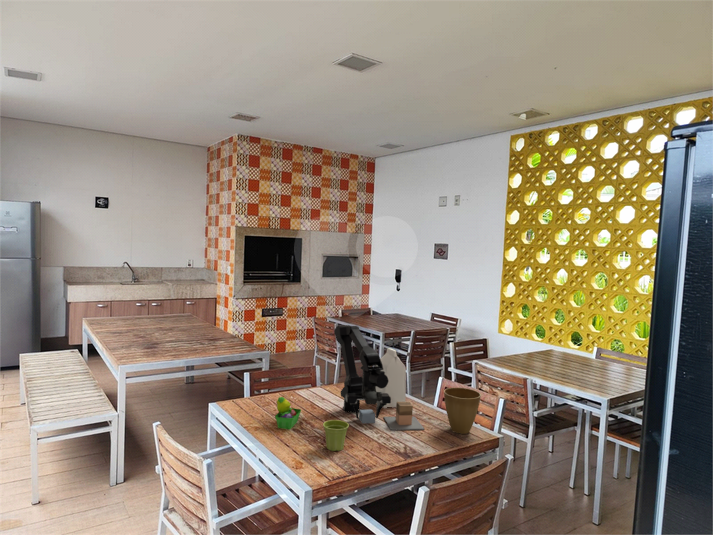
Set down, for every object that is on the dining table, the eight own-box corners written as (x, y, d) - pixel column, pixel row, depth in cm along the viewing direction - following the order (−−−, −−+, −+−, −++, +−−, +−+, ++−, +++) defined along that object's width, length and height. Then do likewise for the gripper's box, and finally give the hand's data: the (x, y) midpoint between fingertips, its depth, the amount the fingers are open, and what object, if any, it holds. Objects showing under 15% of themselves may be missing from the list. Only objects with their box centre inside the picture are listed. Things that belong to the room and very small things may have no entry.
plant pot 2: (448, 421, 206) (451, 385, 206) (482, 429, 199) (485, 391, 198) (436, 431, 194) (438, 393, 193) (472, 440, 186) (474, 400, 185)
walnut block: (412, 415, 198) (412, 405, 198) (399, 415, 197) (400, 405, 197) (408, 410, 203) (409, 401, 203) (396, 410, 202) (396, 401, 202)
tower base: (391, 430, 192) (391, 419, 192) (383, 418, 206) (384, 407, 206) (424, 430, 195) (425, 419, 194) (414, 417, 208) (415, 407, 208)
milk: (372, 400, 230) (375, 347, 229) (393, 398, 235) (396, 346, 234) (384, 408, 219) (387, 352, 218) (405, 406, 224) (408, 351, 223)
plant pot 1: (316, 449, 170) (318, 425, 170) (330, 440, 179) (331, 417, 178) (339, 455, 166) (340, 431, 166) (352, 446, 174) (353, 423, 174)
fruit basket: (292, 431, 186) (293, 403, 185) (270, 428, 188) (272, 400, 187) (301, 421, 197) (302, 394, 196) (281, 418, 199) (282, 392, 198)
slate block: (362, 423, 198) (362, 414, 198) (358, 419, 204) (359, 409, 204) (374, 423, 200) (375, 413, 200) (371, 418, 205) (371, 409, 205)
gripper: (350, 387, 192) (348, 425, 192) (394, 387, 195) (392, 424, 195) (346, 379, 203) (344, 415, 203) (388, 380, 206) (386, 415, 206)
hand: (366, 418), depth 202 cm, fingers open, 8 cm apart
